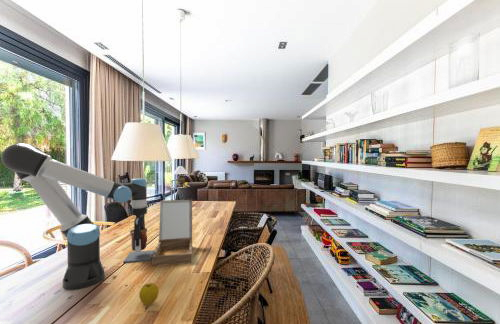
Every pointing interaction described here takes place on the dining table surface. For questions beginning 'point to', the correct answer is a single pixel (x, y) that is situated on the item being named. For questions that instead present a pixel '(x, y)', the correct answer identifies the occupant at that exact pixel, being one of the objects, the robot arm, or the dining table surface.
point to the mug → (142, 237)
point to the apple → (149, 293)
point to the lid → (175, 219)
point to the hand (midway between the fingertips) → (140, 248)
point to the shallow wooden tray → (172, 258)
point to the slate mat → (139, 256)
